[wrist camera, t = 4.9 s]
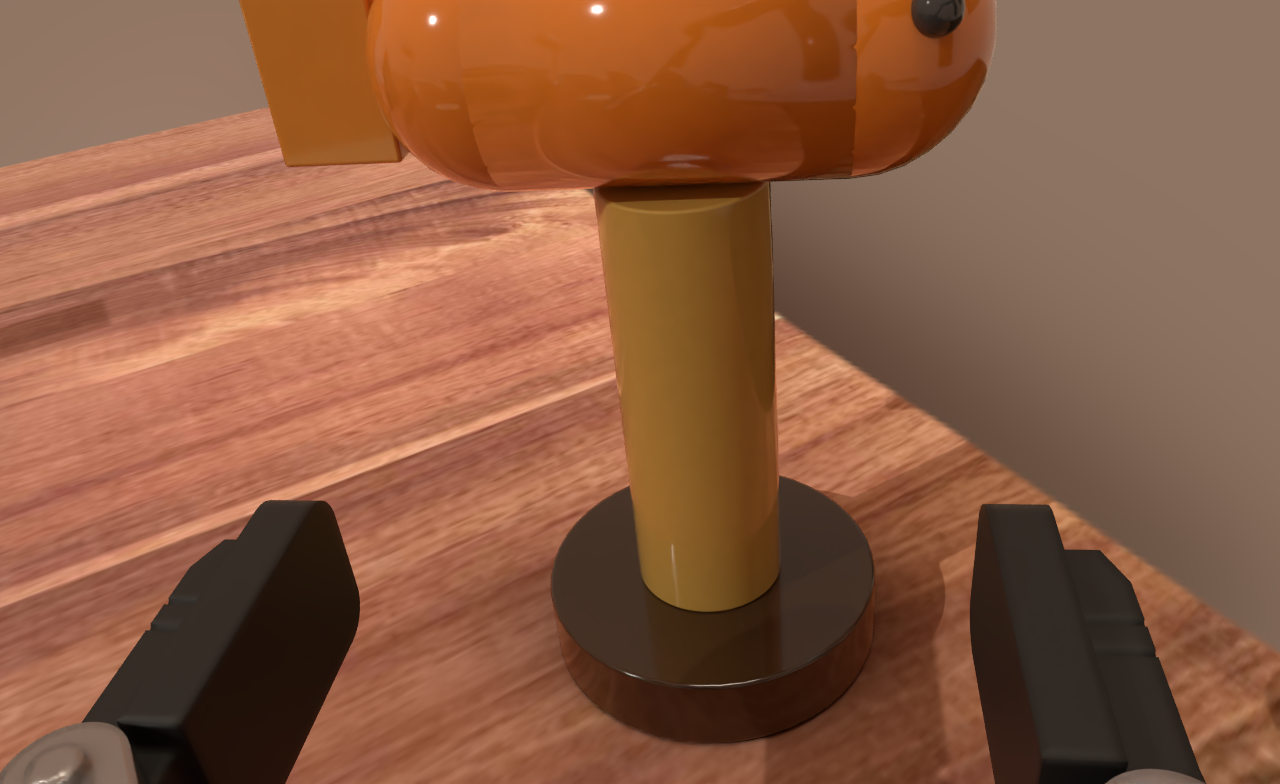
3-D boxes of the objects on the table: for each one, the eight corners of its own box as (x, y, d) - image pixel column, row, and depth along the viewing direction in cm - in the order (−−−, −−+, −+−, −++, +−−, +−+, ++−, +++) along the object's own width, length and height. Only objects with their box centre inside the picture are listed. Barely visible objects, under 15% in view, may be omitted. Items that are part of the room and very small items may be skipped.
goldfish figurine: (366, 729, 20) (110, -16, 13) (457, 514, 26) (312, -101, 18) (965, 756, 19) (1056, -86, 11) (930, 519, 24) (976, -158, 17)
